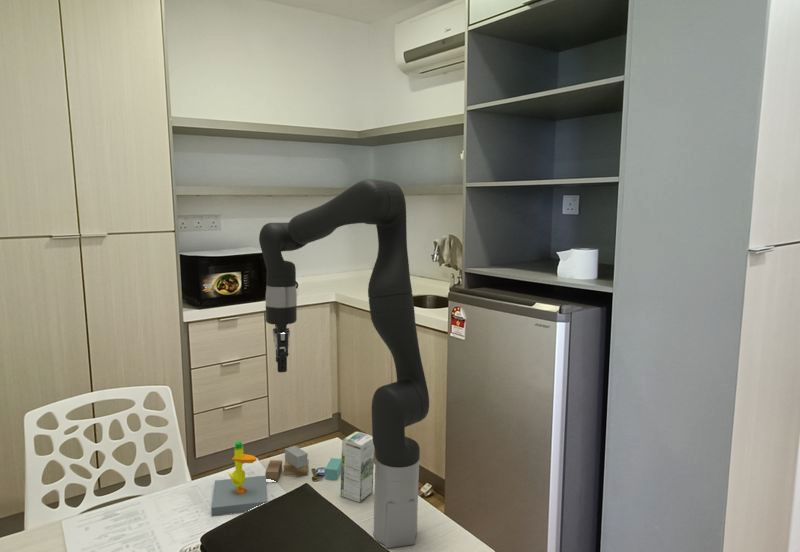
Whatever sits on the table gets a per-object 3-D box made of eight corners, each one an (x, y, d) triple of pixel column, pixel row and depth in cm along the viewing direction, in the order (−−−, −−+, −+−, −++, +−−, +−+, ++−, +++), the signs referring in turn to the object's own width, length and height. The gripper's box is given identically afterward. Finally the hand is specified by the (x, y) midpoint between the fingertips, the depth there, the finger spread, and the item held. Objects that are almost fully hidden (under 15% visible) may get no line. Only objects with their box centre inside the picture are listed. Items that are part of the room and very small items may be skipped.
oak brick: (308, 470, 141) (308, 459, 140) (307, 476, 138) (307, 464, 137) (285, 470, 140) (285, 459, 140) (283, 476, 137) (283, 465, 137)
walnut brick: (277, 483, 134) (277, 471, 133) (265, 483, 134) (265, 471, 133) (282, 471, 140) (282, 460, 139) (270, 471, 140) (270, 460, 139)
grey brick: (307, 464, 138) (307, 453, 137) (297, 468, 136) (297, 456, 135) (294, 456, 142) (294, 445, 142) (284, 459, 140) (284, 448, 140)
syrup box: (353, 485, 133) (354, 430, 131) (373, 492, 130) (375, 436, 128) (339, 496, 128) (340, 438, 126) (360, 503, 125) (361, 444, 124)
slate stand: (267, 509, 122) (267, 501, 122) (211, 516, 119) (211, 507, 118) (266, 482, 133) (266, 475, 133) (215, 488, 130) (214, 480, 130)
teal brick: (336, 481, 136) (337, 469, 135) (325, 480, 136) (325, 468, 136) (341, 469, 142) (342, 458, 141) (330, 468, 142) (330, 457, 142)
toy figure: (258, 489, 127) (259, 440, 125) (253, 497, 123) (253, 447, 122) (230, 486, 127) (231, 438, 126) (224, 494, 124) (224, 445, 122)
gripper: (299, 308, 127) (298, 374, 130) (294, 298, 141) (294, 358, 143) (266, 309, 125) (266, 376, 128) (264, 298, 139) (265, 359, 141)
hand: (281, 366), depth 135 cm, fingers open, 8 cm apart
